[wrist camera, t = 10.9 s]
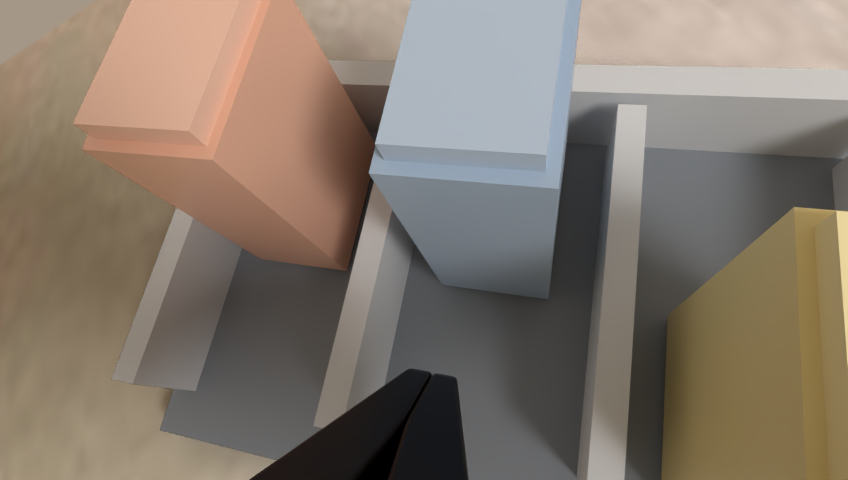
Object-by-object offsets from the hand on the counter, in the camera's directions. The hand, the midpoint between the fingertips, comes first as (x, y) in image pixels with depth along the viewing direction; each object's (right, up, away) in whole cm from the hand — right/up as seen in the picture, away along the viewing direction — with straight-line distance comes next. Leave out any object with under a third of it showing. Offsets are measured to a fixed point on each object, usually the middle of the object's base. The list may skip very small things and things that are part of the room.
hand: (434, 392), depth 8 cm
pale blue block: (+3, +3, +9) cm, 10 cm away
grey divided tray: (+2, +1, +9) cm, 9 cm away
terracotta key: (-4, +4, +10) cm, 12 cm away
